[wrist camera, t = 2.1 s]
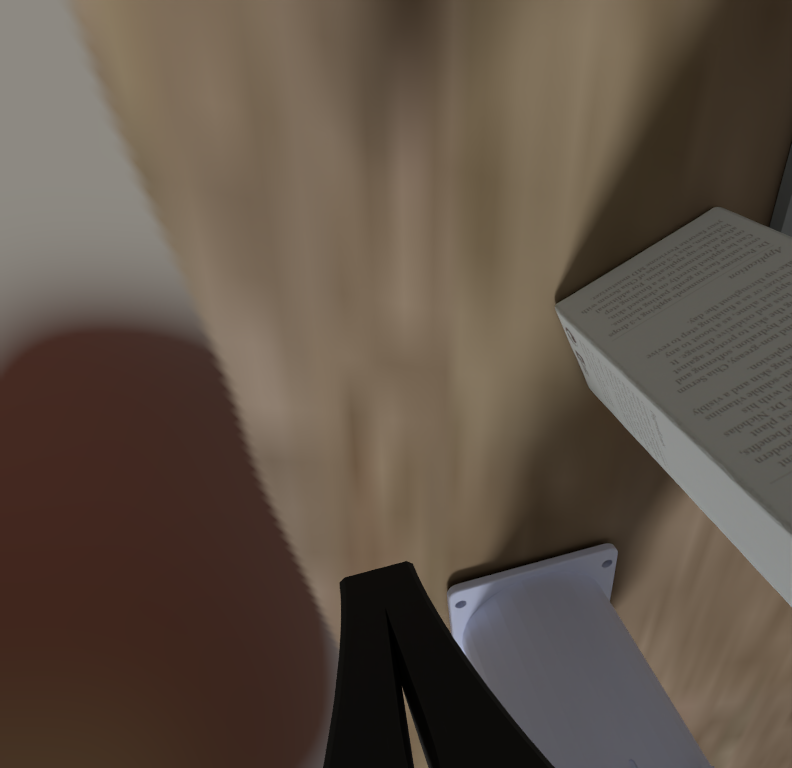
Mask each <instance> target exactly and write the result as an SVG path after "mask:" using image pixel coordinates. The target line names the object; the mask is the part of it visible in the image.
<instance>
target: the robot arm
mask: <svg viewBox="0 0 792 768" xmlns="http://www.w3.org/2000/svg"><path fill="white" fill-rule="evenodd" d="M617 556H618V551H617V549H616V548H615V546H614V545H613V544H611V543H605V544H601V545H598V546H594V547H590V548H587V549H583V550H579V551H576V552H572V553H568V554H565V555H561V556H557V557H554V558H550V559H546V560H543V561H539V562H536V563H532V564H528V565H525V566H521V567H517V568H514V569H510V570H506V571H503V572H499V573H495V574H492V575H488V576H484V577H481V578H477V579H473V580H470V581H466V582H462V583H459V584H456V585H453V586H452V587H450V589H449V590H448V591H447V599H448V609H449V618H450V628H451V633H450V632H449V630H448V628H447V627H446V625H445V624H444V622H443V620H442V619H441V617H440V615H439V614H438V612H437V611H436V609H435V607H434V606H433V604H432V602H431V600H430V598H429V597H428V595H427V593H426V591H425V589H424V587H423V585H422V583H421V581H420V579H419V577H418V575H417V573H416V571H415V568H414V566H413V564H412V563H410V562H407V561H405V562H402V563H398V564H394V565H390V566H387V567H383V568H379V569H375V570H371V571H368V572H364V573H360V574H356V575H353V576H349V577H345V578H344V579H343V580H342V581H341V582H340V593H341V635H340V651H339V662H338V671H337V680H336V689H335V699H334V705H333V712H332V718H331V725H330V730H329V736H328V743H327V749H326V755H325V761H324V766H323V768H414V764H413V758H412V751H411V744H410V738H409V731H408V724H407V718H406V711H405V705H404V698H403V691H404V694H405V697H406V700H407V703H408V706H409V709H410V712H411V715H412V718H413V721H414V724H415V728H416V731H417V734H418V737H419V740H420V743H421V746H422V749H423V752H424V755H425V758H426V761H427V764H428V767H429V768H714V766H711V765H710V763H709V762H708V760H707V758H706V757H705V755H704V754H703V752H702V750H701V749H700V747H699V745H698V744H697V742H696V741H695V739H694V737H693V736H692V734H691V732H690V731H689V729H688V728H687V726H686V724H685V723H684V721H683V720H682V718H681V716H680V715H679V713H678V711H677V710H676V708H675V707H674V705H673V703H672V702H671V700H670V698H669V697H668V695H667V694H666V692H665V690H664V689H663V687H662V685H661V684H660V682H659V681H658V679H657V677H656V676H655V674H654V672H653V671H652V669H651V668H650V666H649V664H648V663H647V661H646V659H645V658H644V656H643V655H642V653H641V651H640V650H639V648H638V646H637V645H636V643H635V642H634V640H633V638H632V637H631V635H630V633H629V632H628V630H627V629H626V627H625V625H624V624H623V622H622V621H621V619H620V617H619V616H618V614H617V612H616V611H615V609H614V608H613V606H612V604H611V603H610V597H611V591H612V586H613V580H614V574H615V568H616V562H617ZM402 688H403V691H402Z"/></svg>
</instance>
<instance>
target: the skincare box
mask: <svg viewBox="0 0 792 768" xmlns="http://www.w3.org/2000/svg"><path fill="white" fill-rule="evenodd" d="M555 310H556V312H557V314H558V317H559V319H560V321H561V324H562V326H563V328H564V331H565V333H566V335H567V338H568V340H569V343H570V345H571V347H572V349H573V352H574V354H575V356H576V358H577V360H578V363H579V365H580V367H581V370H582V372H583V374H584V377H585V379H586V382H587V384H588V386H589V388H590V390H591V391H592V392H593V393H594V394H595V395H596V396H597V397H598V399H599V400H600V401H601V402H602V403H603V404H604V405H605V406H606V407H607V408H608V409H609V410H610V411H611V412H612V413H613V415H614V416H615V417H616V418H617V419H618V420H619V421H620V422H621V423H622V424H623V425H624V427H625V428H626V429H627V430H628V431H629V432H630V433H631V434H632V435H633V436H634V438H635V439H636V440H637V441H638V442H639V443H640V444H641V445H642V446H643V447H644V448H645V449H646V450H647V451H648V453H649V454H650V455H651V456H652V457H653V458H654V459H655V460H656V461H657V462H658V463H659V464H660V465H661V467H662V468H663V469H664V470H665V471H666V472H667V473H668V474H669V475H670V476H671V477H672V478H673V479H674V481H675V482H676V483H677V484H678V485H679V486H680V487H681V488H682V489H683V490H684V491H685V492H686V493H687V495H688V496H689V497H690V498H691V499H692V500H693V501H694V502H695V503H696V504H697V505H698V506H699V508H700V509H701V510H702V511H703V512H704V513H705V514H706V515H707V516H708V517H709V518H710V519H711V520H712V521H713V523H714V524H715V525H716V526H717V527H718V528H719V529H720V530H721V531H722V532H723V533H724V534H725V535H726V537H727V538H728V539H729V540H730V541H731V542H732V543H733V544H734V545H735V546H736V547H737V548H738V549H739V550H740V551H741V553H742V554H743V555H744V556H745V557H746V558H747V559H748V560H749V562H750V563H751V564H752V565H753V566H754V567H755V568H756V569H757V570H758V571H759V572H760V573H761V574H762V576H763V577H764V578H765V579H766V580H767V581H768V582H769V583H770V584H771V585H772V586H773V587H774V588H775V589H776V591H777V592H778V593H779V594H780V595H781V596H782V597H783V598H784V599H785V600H786V601H787V602H788V604H789V605H790V606H791V607H792V237H790V236H788V235H786V234H783V233H781V232H778V231H776V230H774V229H771V228H769V227H767V226H764V225H762V224H760V223H757V222H755V221H753V220H750V219H748V218H746V217H743V216H741V215H739V214H736V213H734V212H731V211H729V210H727V209H724V208H721V207H714V208H712V209H711V210H709V211H708V212H706V213H705V214H703V215H701V216H700V217H698V218H697V219H695V220H693V221H692V222H690V223H689V224H687V225H685V226H684V227H682V228H680V229H679V230H677V231H675V232H674V233H672V234H670V235H669V236H667V237H666V238H664V239H662V240H661V241H659V242H657V243H656V244H654V245H652V246H651V247H649V248H647V249H646V250H644V251H643V252H641V253H639V254H638V255H636V256H634V257H633V258H631V259H630V260H628V261H626V262H625V263H623V264H621V265H620V266H618V267H616V268H615V269H613V270H611V271H610V272H608V273H607V274H605V275H603V276H602V277H600V278H598V279H597V280H595V281H593V282H592V283H590V284H588V285H587V286H585V287H584V288H582V289H580V290H579V291H577V292H575V293H574V294H572V295H571V296H569V297H567V298H566V299H564V300H562V301H560V302H559V303H557V304H556V305H555Z"/></svg>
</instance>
